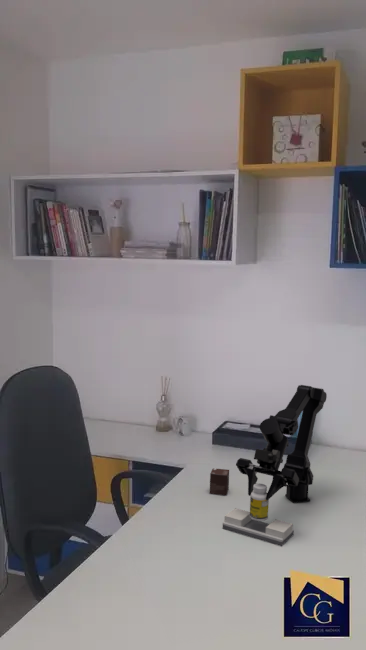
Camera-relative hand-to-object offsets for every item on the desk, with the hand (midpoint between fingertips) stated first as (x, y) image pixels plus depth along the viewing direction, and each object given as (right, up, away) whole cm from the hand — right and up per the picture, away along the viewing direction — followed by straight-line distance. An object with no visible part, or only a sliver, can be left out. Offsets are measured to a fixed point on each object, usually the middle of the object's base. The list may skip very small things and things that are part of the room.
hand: (257, 497), depth 179 cm
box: (-10, -7, +32) cm, 35 cm away
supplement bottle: (0, -7, +2) cm, 7 cm away
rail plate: (0, -11, +2) cm, 11 cm away
